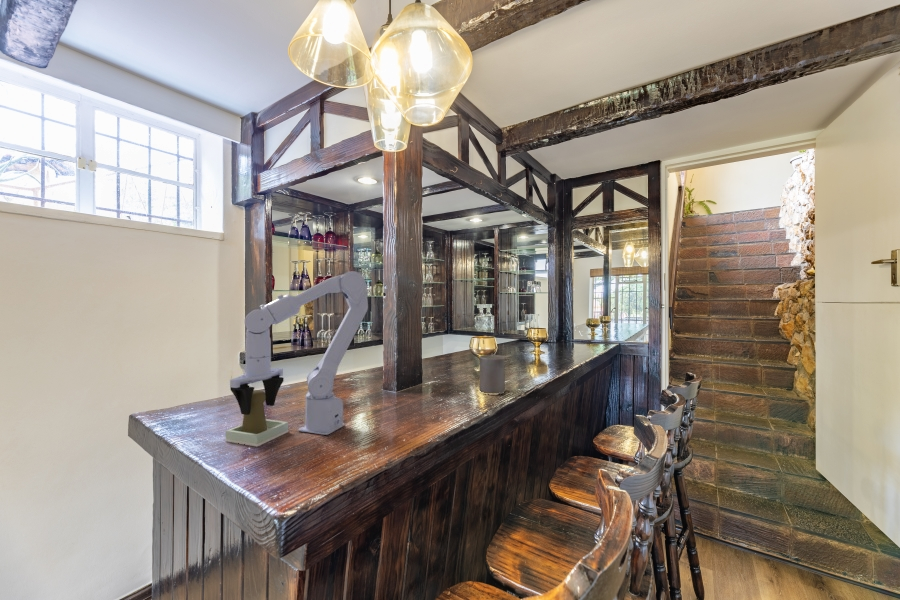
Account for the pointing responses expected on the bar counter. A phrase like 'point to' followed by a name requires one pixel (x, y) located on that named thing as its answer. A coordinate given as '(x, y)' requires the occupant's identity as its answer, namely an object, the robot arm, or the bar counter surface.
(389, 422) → the bar counter surface
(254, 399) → the olive pepper mill
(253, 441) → the tray
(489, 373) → the pillar candle
